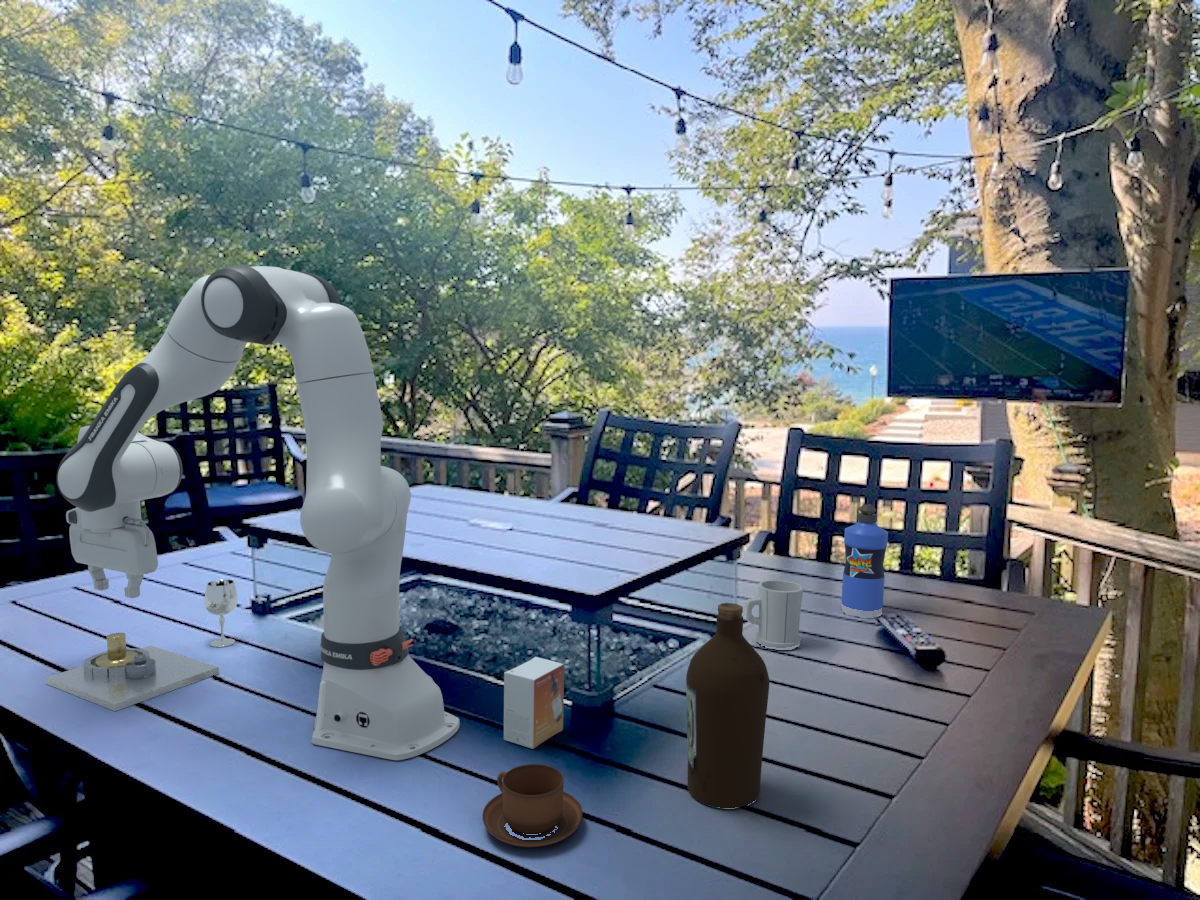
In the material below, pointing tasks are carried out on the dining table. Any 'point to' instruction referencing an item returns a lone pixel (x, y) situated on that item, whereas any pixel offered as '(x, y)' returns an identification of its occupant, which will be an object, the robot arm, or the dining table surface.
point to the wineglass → (221, 605)
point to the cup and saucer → (532, 807)
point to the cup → (777, 613)
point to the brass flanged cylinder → (116, 652)
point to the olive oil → (726, 715)
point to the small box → (533, 702)
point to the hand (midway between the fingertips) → (116, 593)
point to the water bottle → (864, 562)
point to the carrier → (132, 677)
